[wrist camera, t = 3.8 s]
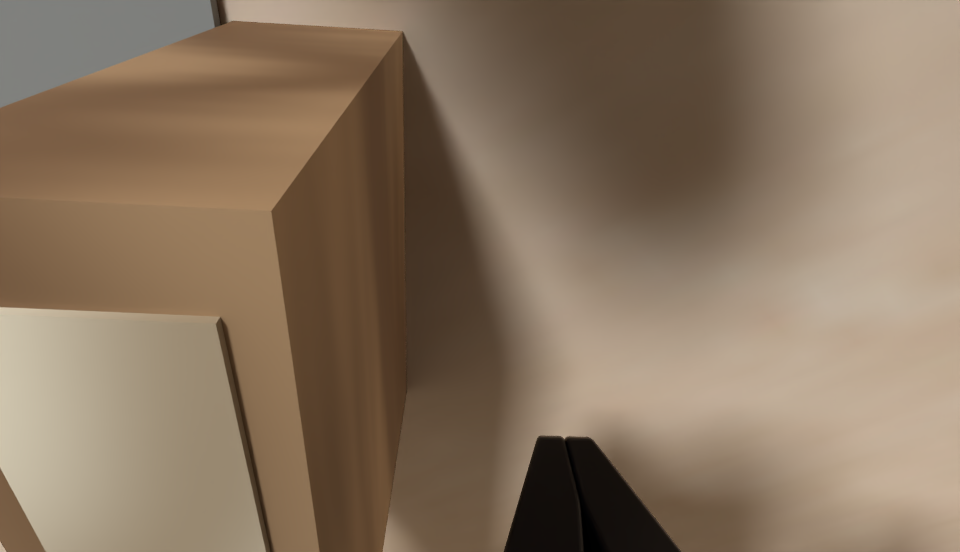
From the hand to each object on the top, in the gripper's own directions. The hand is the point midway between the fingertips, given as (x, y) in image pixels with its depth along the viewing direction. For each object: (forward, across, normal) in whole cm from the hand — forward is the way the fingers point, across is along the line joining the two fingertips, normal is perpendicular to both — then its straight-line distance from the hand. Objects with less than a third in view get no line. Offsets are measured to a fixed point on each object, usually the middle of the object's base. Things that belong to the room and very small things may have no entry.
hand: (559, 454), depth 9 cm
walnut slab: (+7, +5, 0) cm, 8 cm away
